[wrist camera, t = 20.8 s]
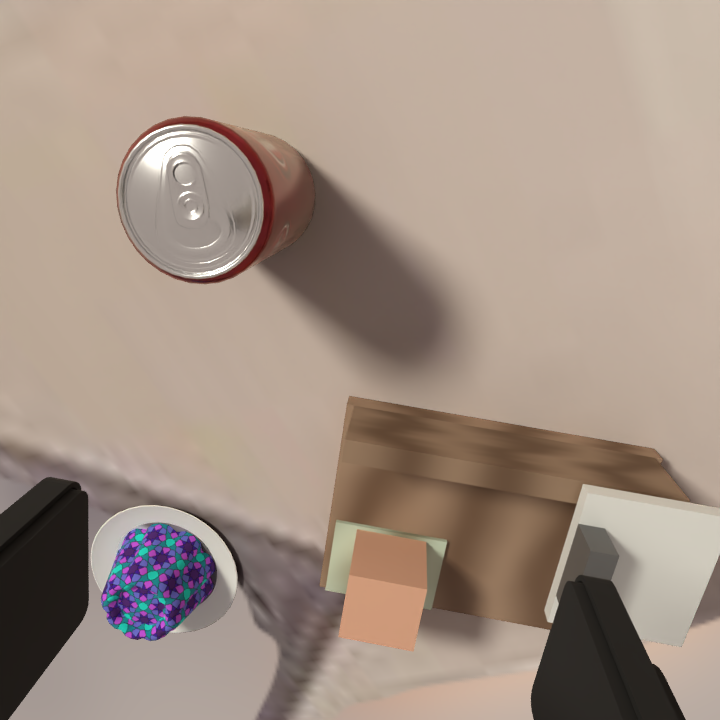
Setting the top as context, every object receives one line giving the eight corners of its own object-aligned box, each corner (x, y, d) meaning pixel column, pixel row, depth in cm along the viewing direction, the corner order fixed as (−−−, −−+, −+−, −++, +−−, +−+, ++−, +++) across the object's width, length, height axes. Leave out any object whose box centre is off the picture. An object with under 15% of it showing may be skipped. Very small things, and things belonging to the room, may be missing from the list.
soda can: (320, 250, 38) (277, 285, 26) (211, 253, 38) (124, 288, 27) (313, 130, 35) (263, 110, 24) (197, 136, 36) (95, 119, 25)
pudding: (164, 471, 44) (132, 510, 39) (271, 579, 46) (253, 628, 41) (66, 552, 47) (25, 596, 42) (169, 648, 49) (142, 702, 44)
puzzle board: (653, 448, 39) (698, 501, 33) (593, 623, 44) (623, 699, 38) (349, 395, 40) (336, 437, 34) (322, 573, 45) (306, 638, 39)
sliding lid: (725, 508, 33) (759, 546, 29) (674, 634, 36) (700, 682, 32) (583, 483, 33) (601, 518, 30) (544, 610, 36) (556, 654, 33)
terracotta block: (426, 541, 41) (427, 589, 37) (413, 598, 43) (413, 651, 38) (357, 528, 42) (349, 574, 37) (347, 585, 43) (338, 636, 38)
